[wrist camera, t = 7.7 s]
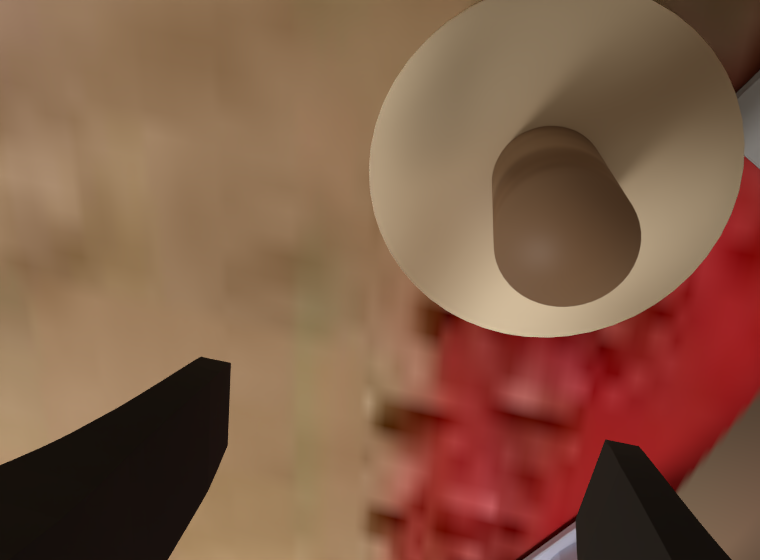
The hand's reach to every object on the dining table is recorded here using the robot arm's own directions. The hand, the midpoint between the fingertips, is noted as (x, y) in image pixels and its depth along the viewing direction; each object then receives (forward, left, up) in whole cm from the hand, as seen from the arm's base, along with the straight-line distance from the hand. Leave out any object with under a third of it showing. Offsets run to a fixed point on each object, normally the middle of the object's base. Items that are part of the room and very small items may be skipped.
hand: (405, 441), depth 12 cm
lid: (0, -5, -6) cm, 8 cm away
